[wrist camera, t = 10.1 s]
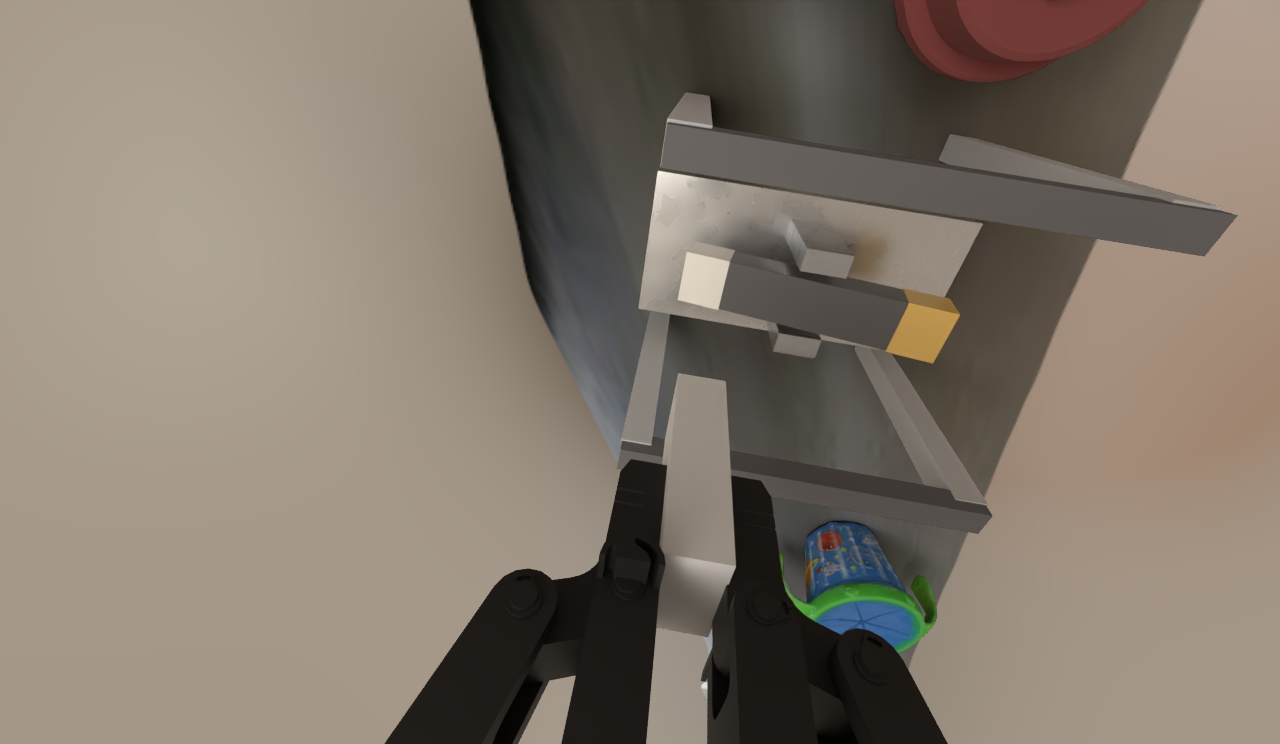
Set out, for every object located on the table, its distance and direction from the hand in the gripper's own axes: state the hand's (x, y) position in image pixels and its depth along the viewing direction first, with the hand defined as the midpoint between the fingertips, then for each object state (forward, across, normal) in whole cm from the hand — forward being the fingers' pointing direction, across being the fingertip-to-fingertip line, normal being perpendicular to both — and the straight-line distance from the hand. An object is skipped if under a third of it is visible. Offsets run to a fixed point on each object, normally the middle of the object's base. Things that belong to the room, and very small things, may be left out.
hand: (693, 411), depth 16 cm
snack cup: (+25, +22, -33) cm, 47 cm away
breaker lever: (+14, +6, -1) cm, 15 cm away
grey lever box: (+24, +6, -1) cm, 25 cm away
